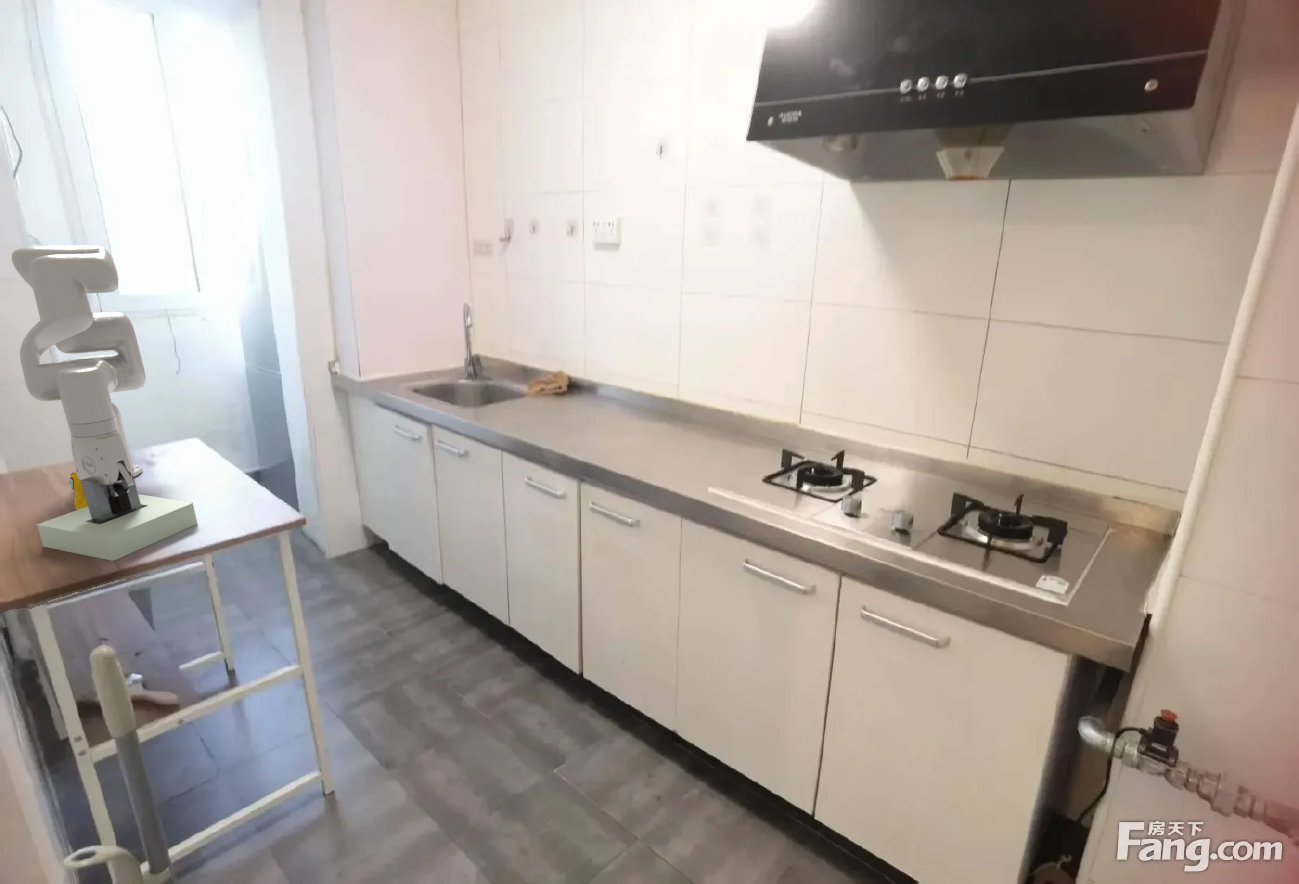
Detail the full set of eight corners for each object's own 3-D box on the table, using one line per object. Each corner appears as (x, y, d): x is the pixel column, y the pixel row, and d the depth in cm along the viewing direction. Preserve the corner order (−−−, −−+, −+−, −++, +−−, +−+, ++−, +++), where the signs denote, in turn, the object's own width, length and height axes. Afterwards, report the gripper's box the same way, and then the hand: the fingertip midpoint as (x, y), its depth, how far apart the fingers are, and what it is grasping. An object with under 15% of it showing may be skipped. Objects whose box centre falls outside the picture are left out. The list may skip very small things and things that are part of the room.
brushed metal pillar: (96, 533, 137) (80, 480, 134) (134, 518, 145) (121, 467, 141) (106, 535, 137) (90, 481, 133) (144, 520, 144) (131, 468, 140)
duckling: (68, 511, 153) (56, 471, 149) (96, 503, 157) (84, 464, 154) (90, 522, 147) (78, 480, 144) (118, 514, 151) (107, 473, 148)
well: (43, 546, 136) (36, 524, 134) (132, 512, 152) (126, 492, 151) (113, 560, 130) (106, 538, 129) (197, 523, 146) (192, 503, 145)
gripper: (45, 429, 133) (70, 513, 138) (103, 437, 128) (126, 523, 134) (85, 419, 140) (108, 499, 145) (142, 426, 135) (162, 509, 141)
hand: (116, 510), depth 139 cm, fingers closed on brushed metal pillar, 3 cm apart
